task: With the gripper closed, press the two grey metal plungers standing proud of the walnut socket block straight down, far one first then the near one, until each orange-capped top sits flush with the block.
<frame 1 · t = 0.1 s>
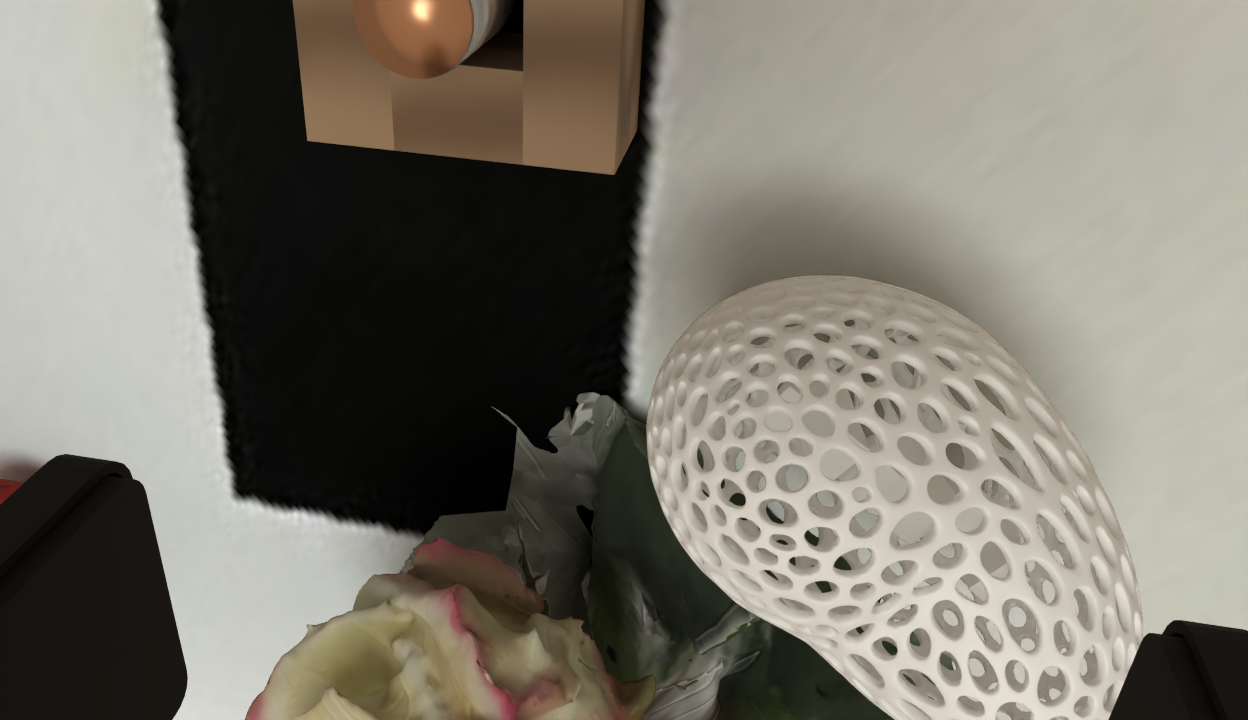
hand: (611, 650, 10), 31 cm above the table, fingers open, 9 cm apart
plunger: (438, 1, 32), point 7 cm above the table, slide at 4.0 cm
rose bouquet: (616, 638, 53), on the table
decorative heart: (877, 344, 43), on the table
onion: (43, 491, 55), on the table
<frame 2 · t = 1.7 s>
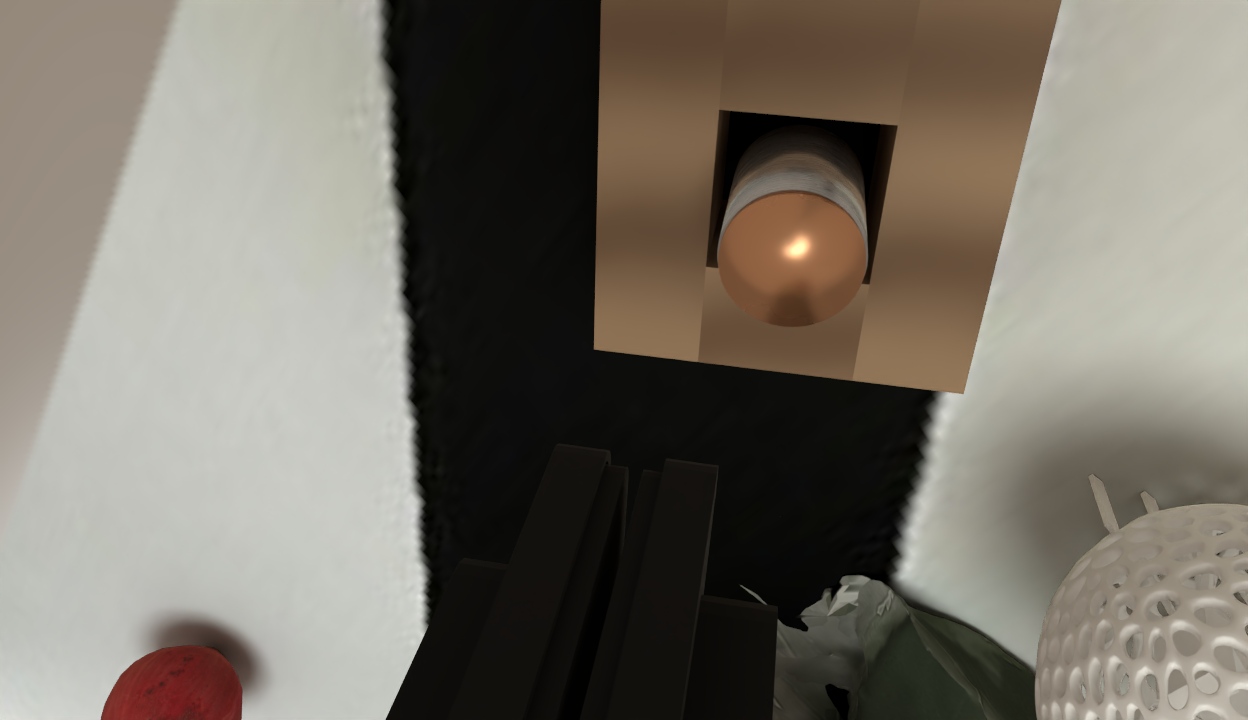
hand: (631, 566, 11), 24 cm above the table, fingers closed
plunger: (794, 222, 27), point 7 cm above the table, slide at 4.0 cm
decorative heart: (1201, 535, 37), on the table
onion: (217, 648, 51), on the table
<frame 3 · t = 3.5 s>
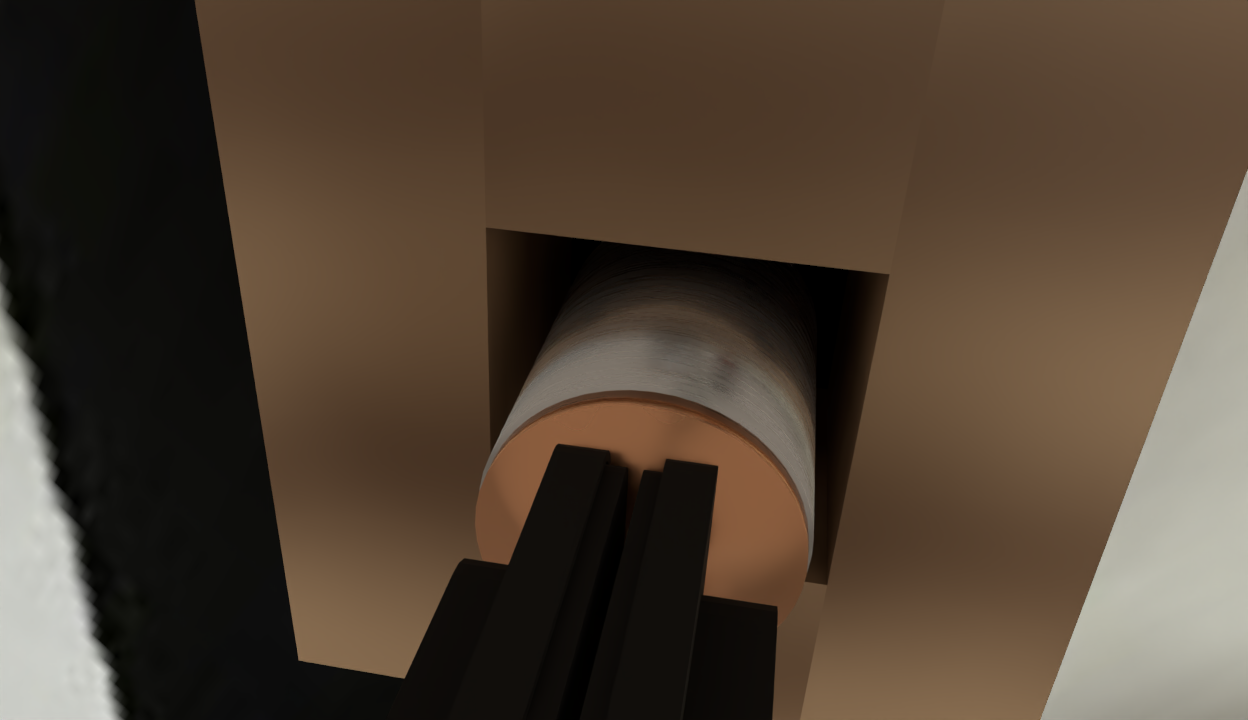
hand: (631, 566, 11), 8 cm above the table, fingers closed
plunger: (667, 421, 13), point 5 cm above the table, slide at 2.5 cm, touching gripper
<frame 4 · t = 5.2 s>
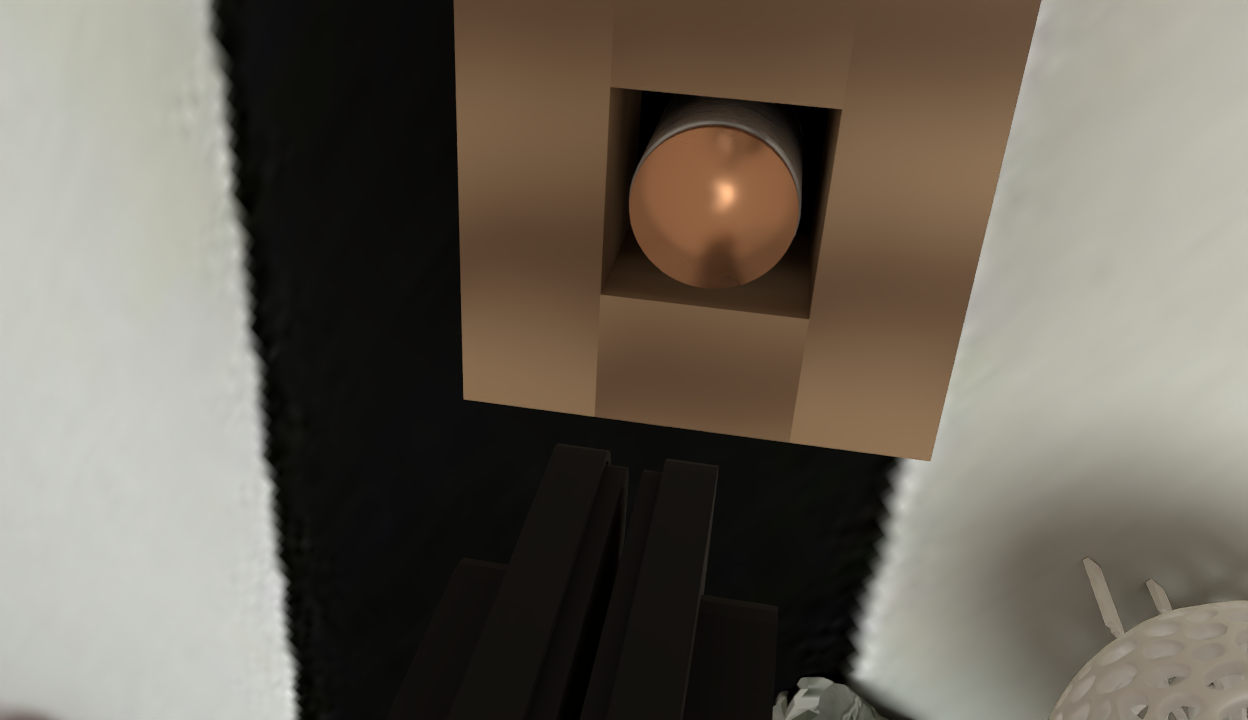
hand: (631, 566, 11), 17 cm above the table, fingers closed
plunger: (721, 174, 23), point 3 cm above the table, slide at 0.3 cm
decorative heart: (1218, 632, 31), on the table
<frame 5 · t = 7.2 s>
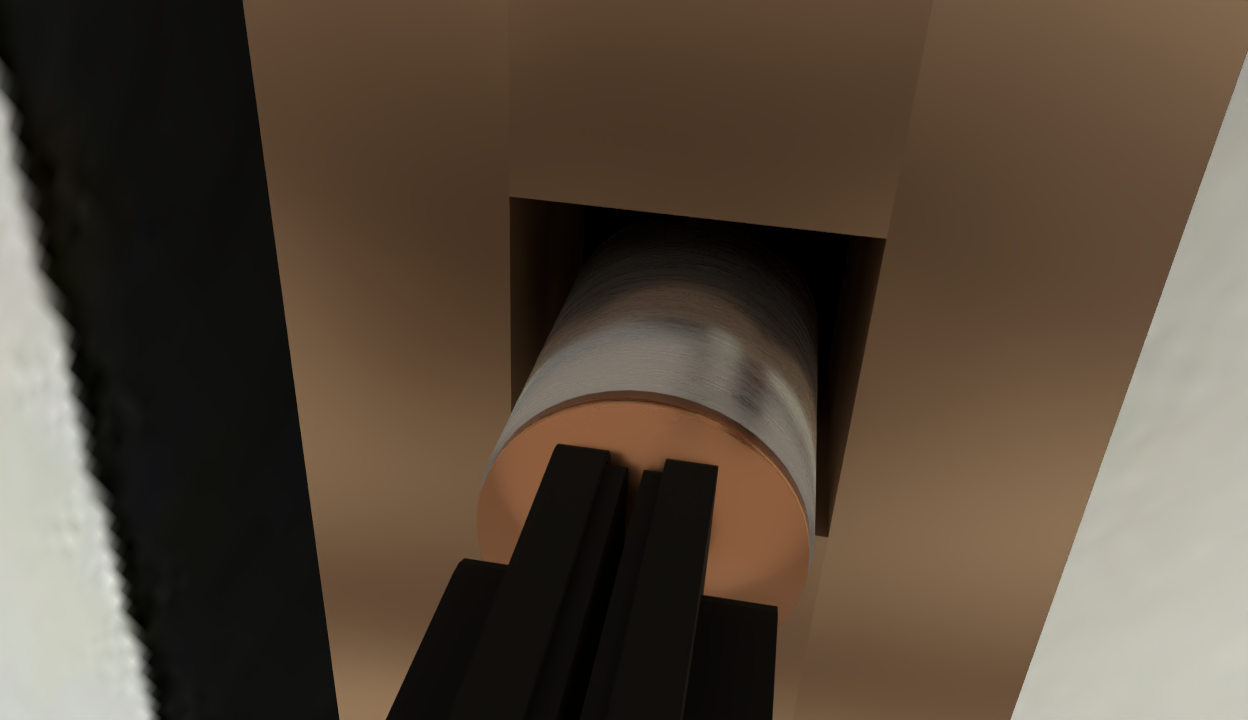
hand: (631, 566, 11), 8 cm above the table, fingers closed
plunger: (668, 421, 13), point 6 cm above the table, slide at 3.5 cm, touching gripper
socket block: (692, 441, 20), on the table
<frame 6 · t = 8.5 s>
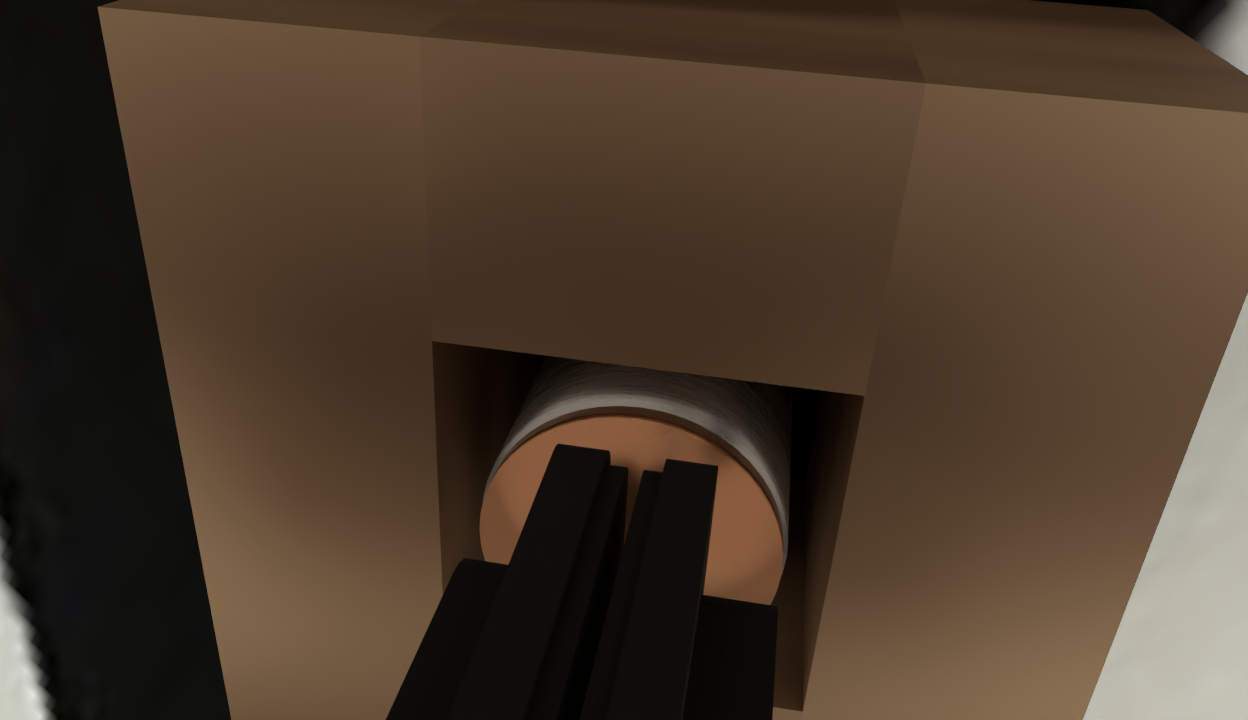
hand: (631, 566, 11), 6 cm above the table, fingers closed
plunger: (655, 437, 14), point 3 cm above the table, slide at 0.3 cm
socket block: (659, 562, 19), on the table
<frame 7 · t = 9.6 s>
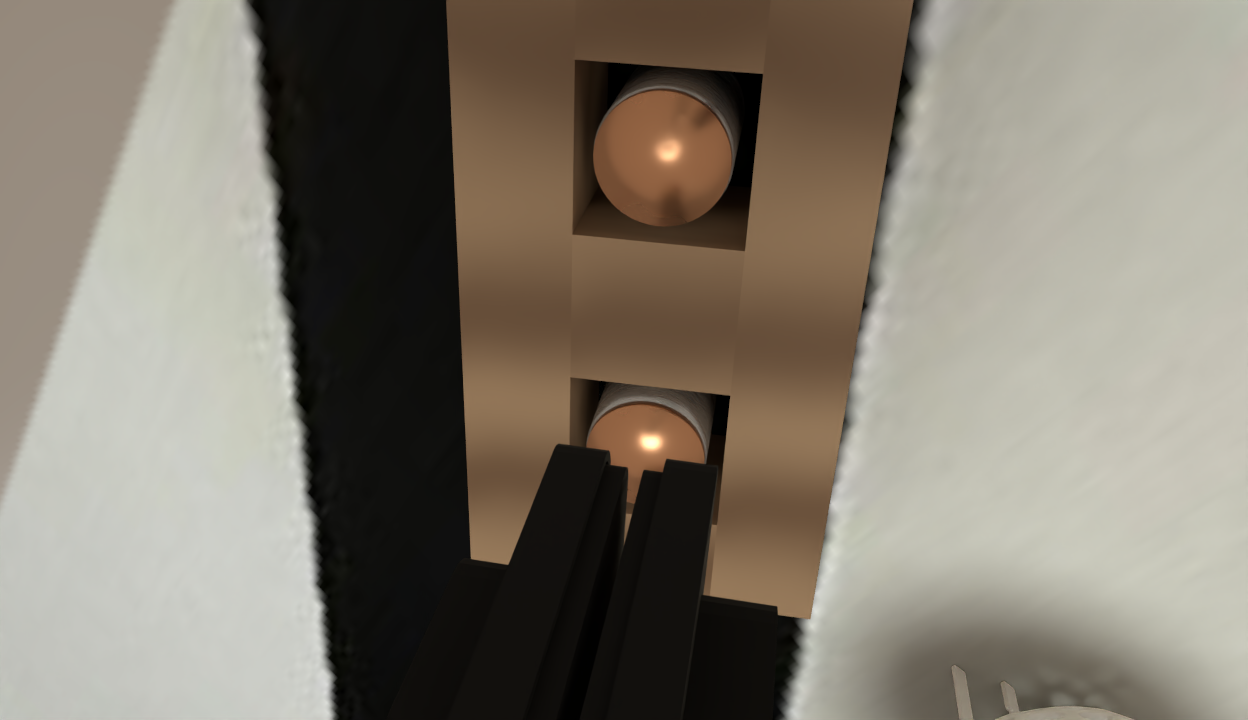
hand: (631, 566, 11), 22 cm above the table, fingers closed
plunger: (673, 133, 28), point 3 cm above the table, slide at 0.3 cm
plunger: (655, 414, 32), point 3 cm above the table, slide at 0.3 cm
socket block: (674, 247, 33), on the table
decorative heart: (1060, 719, 40), on the table
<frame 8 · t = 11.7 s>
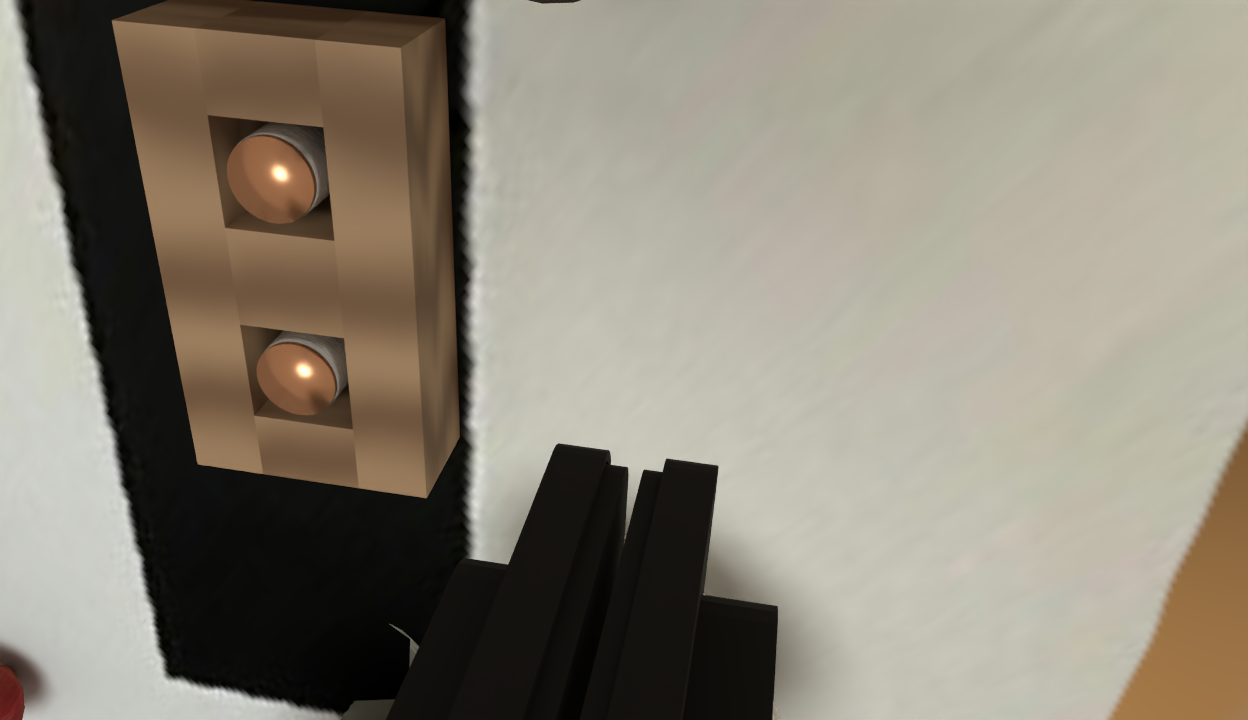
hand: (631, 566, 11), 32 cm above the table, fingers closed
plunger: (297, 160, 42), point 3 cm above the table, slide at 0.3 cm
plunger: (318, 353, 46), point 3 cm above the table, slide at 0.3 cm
socket block: (335, 236, 46), on the table
onion: (11, 666, 66), on the table
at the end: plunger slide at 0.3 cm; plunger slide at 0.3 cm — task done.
